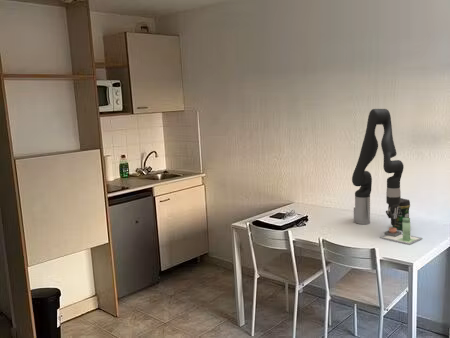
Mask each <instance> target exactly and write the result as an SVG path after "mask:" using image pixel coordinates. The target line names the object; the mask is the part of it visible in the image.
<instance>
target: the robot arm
mask: <svg viewBox="0 0 450 338" xmlns="http://www.w3.org/2000/svg"><path fill="white" fill-rule="evenodd" d="M366 123H367V124H366V129H365V134H364V137H363V142H362V145H361V149H360V153H359V156H358V159H357V162H356V165H355V169H354V170H353V173H352V177H351V181H352V185H353V186H355V187H359V189H357V190H356V191H355V192H354V207H353V223H355V224H358V225H369V224H370V223H371V193H372V184H373V177H372V174H371V173H370V171H369V170H366V168H367V167H368V166H369V164H370V163H371V162H373V160H374V158H376V156H377V155H376V154H377V151H378V149H379V141H378V139H377V136H376V128H377V125H381V126H382V127H383V134H382V138H381V142H380V146H381V151H382V154H383V168H382V169H383V171H384V172H385V173H386V174H392V175H391V176H389V177H387V179H386V196H385V197H386V198H385V201H386V204H387V205H388V207H387V210H385V214H386V215H387V217H388V219H390V225H391V226H392V225H396V218H397V217H398V215H399V213H400V210H401V207H399V205H398V204H400V203H401V196H402V195H401V193H402V192H401V179H402V175H403V172H404V169H405V168H404V163H403V162H402V160H400V159H396V160H391V158H395V157H396V156H397V150H396V145H395V142H394V135H393V125H392V116H391V114H390V111H389V109H387V108H373V109H371V110H370V111H369V113H368V118H367V122H366Z"/></svg>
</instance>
